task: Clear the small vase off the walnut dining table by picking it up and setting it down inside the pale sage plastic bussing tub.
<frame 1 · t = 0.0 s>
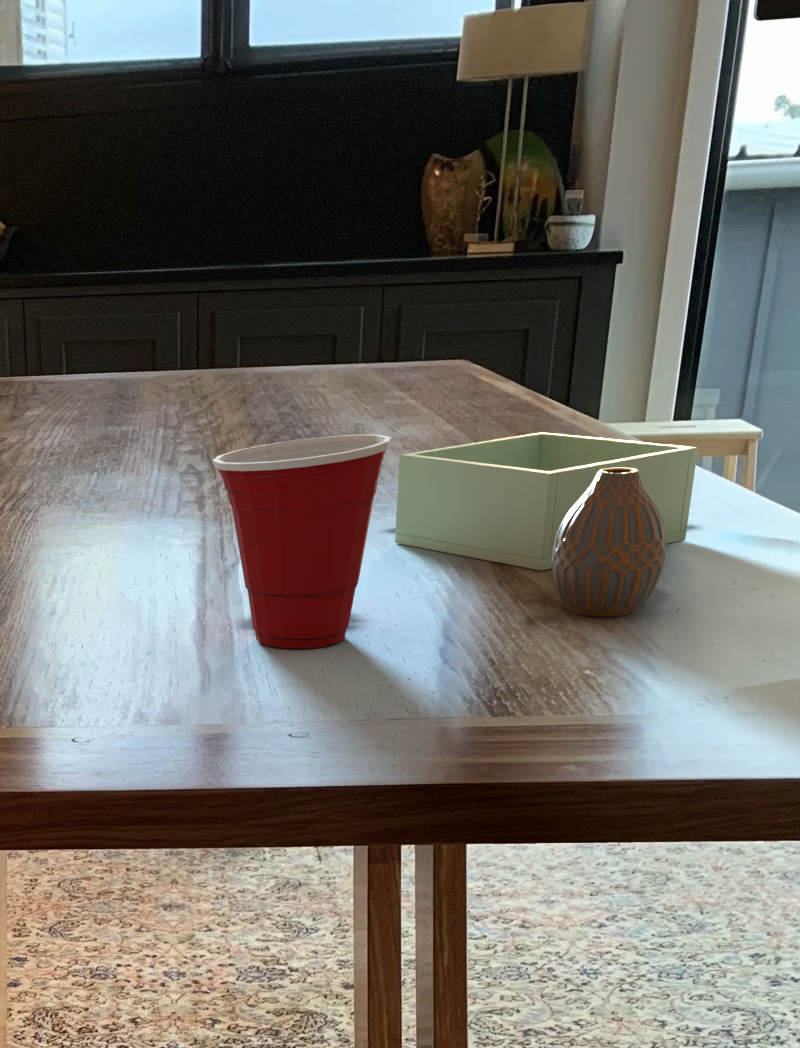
vase: (601, 613, 100), on the table
plastic cup: (296, 641, 98), on the table
tub: (536, 541, 121), on the table
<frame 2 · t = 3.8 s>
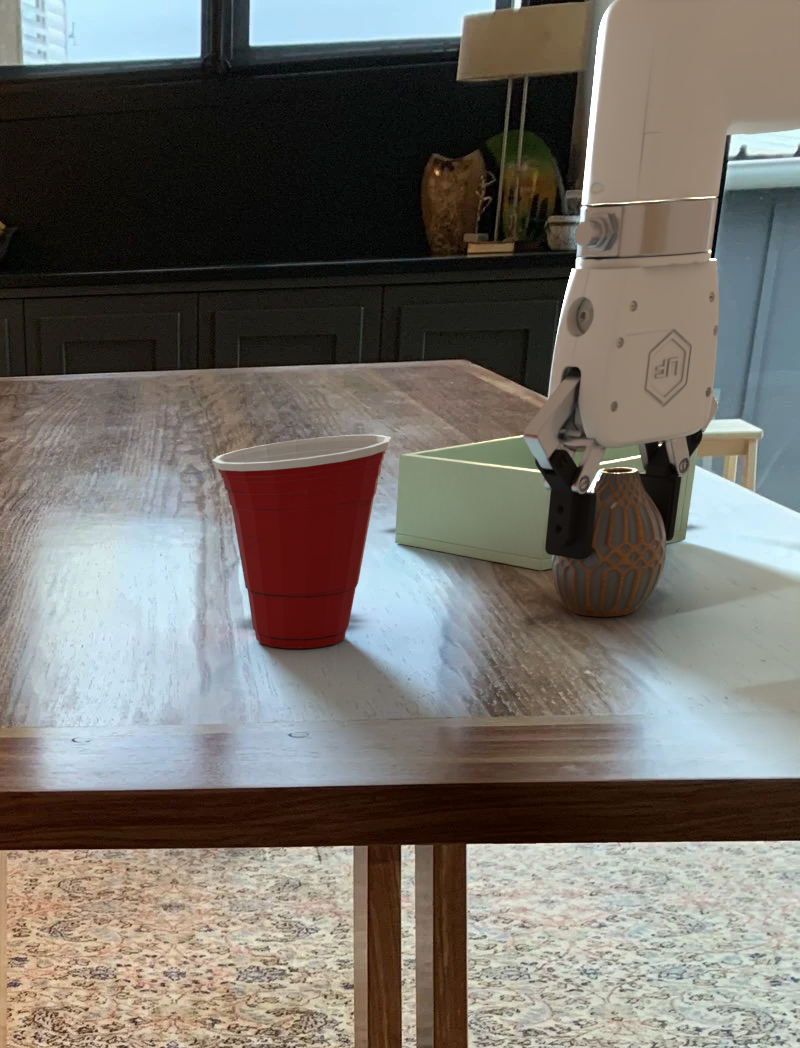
hand: (609, 545, 98), 4 cm above the table, tool pointing down, fingers closed on vase, 6 cm apart
vase: (601, 613, 100), on the table, touching gripper
everything else where it was.
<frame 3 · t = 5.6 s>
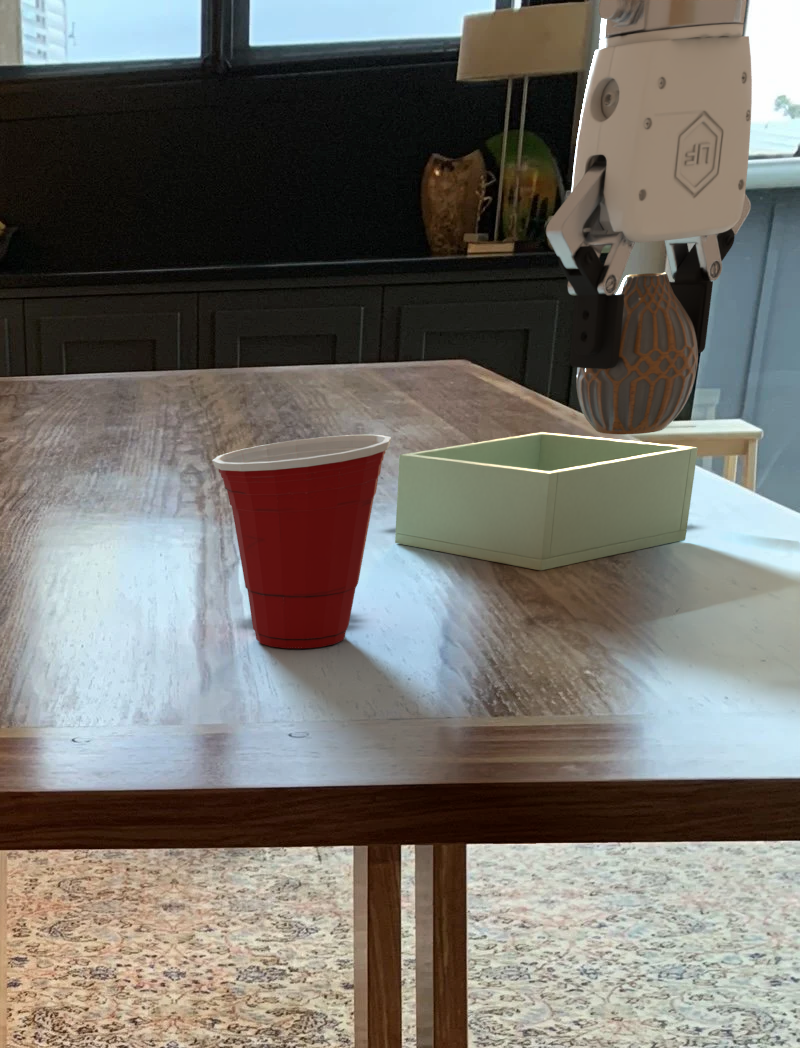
hand: (637, 357, 93), 15 cm above the table, tool pointing down, fingers closed on vase, 6 cm apart
vase: (629, 433, 95), point 11 cm above the table, touching gripper
everything else where it was.
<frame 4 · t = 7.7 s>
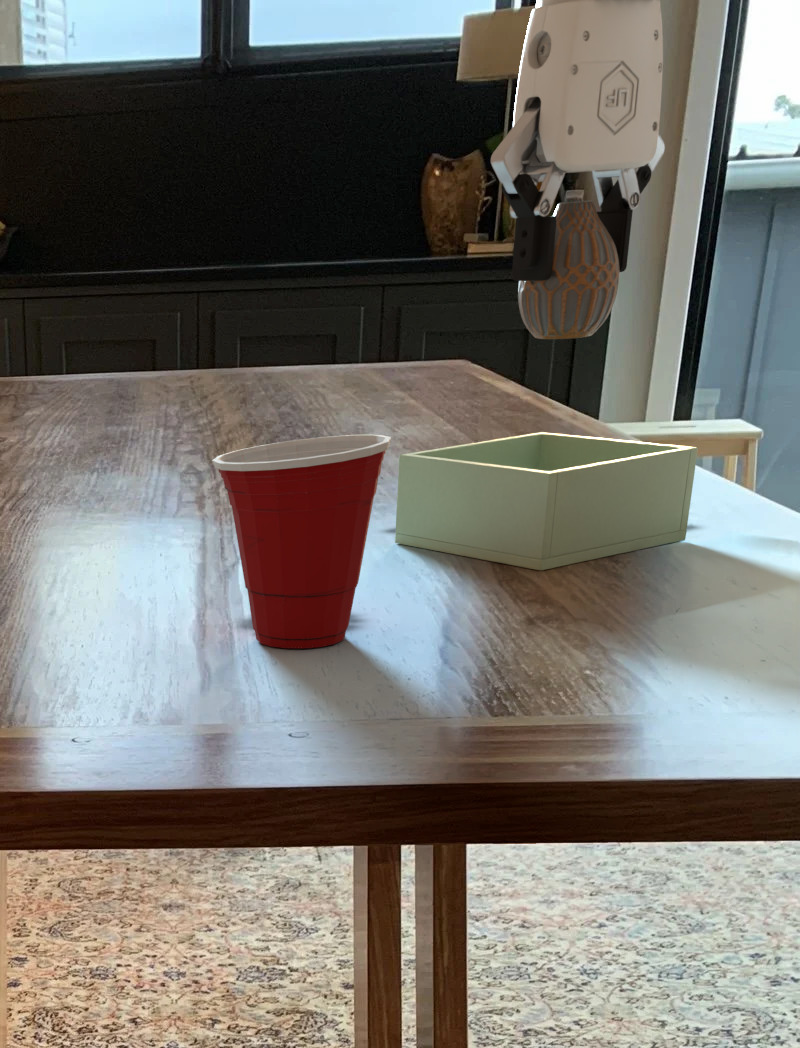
hand: (569, 274, 110), 19 cm above the table, tool pointing down, fingers closed on vase, 6 cm apart
vase: (563, 339, 112), point 15 cm above the table, touching gripper
everything else where it was.
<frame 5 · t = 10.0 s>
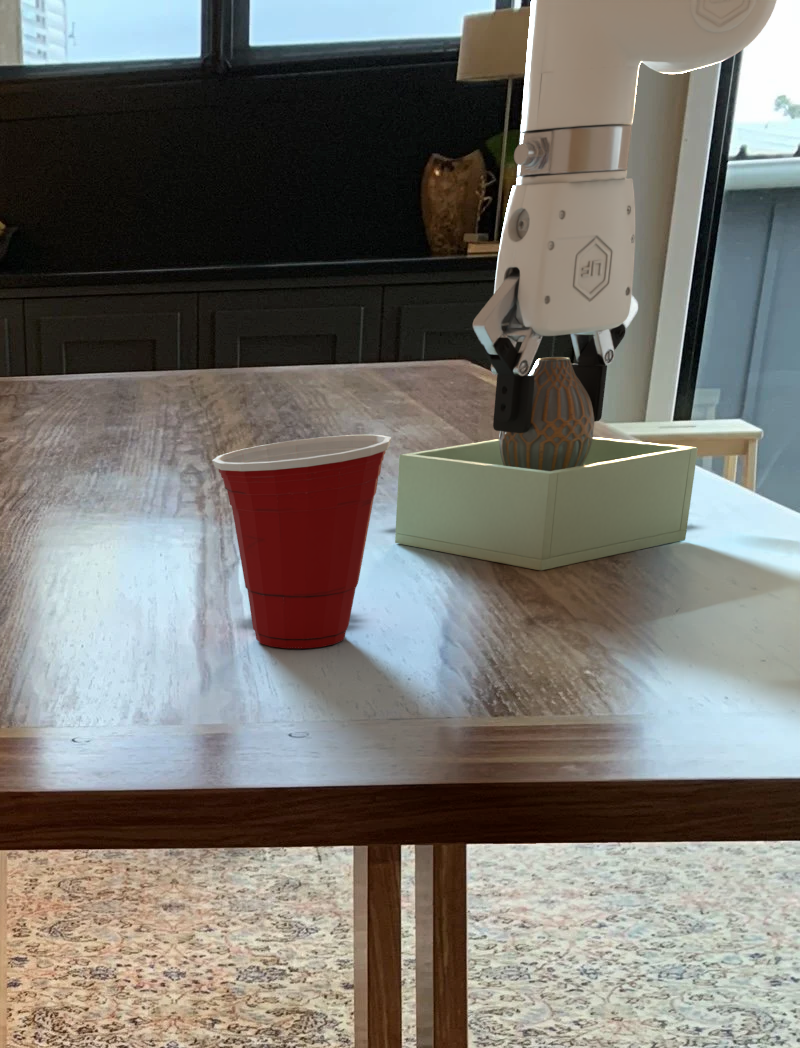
hand: (547, 423, 117), 9 cm above the table, tool pointing down, fingers closed on vase, 6 cm apart
vase: (541, 483, 119), point 4 cm above the table, touching gripper
everything else where it was.
when the fingers open (5 cm above the table, at t = 11.6 s): vase stays where it is, resting on tub.
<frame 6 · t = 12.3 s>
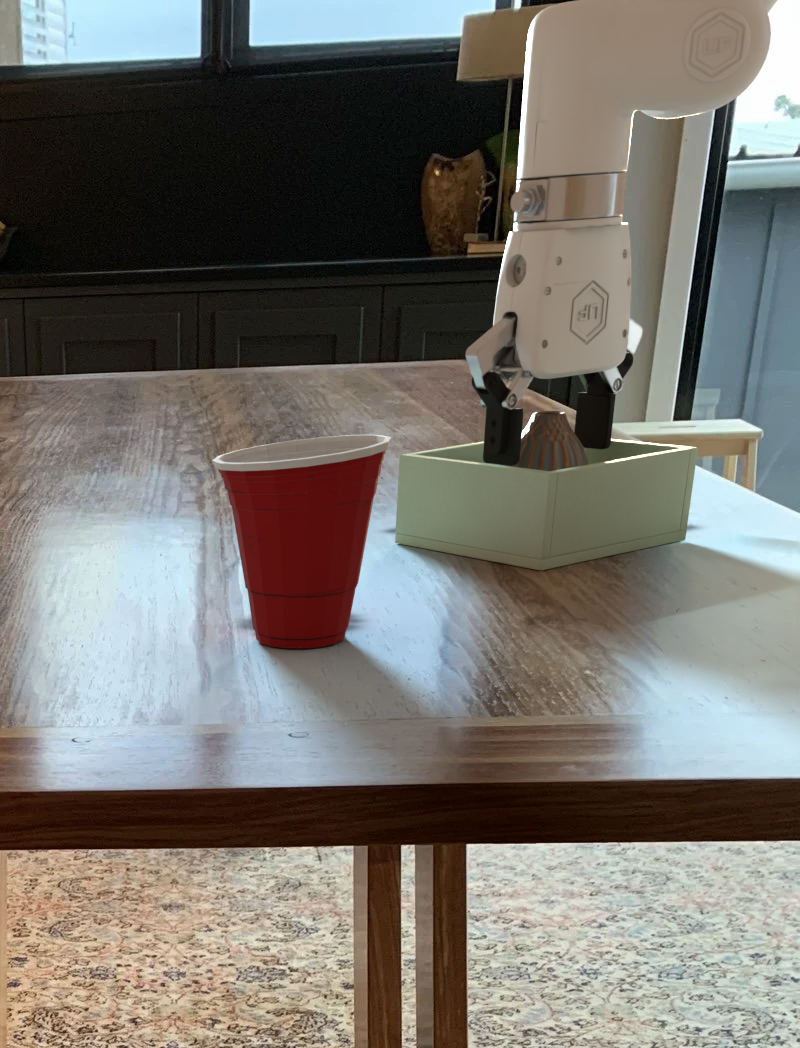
hand: (546, 455, 118), 6 cm above the table, tool pointing down, fingers open, 9 cm apart
vase: (537, 533, 120), point 1 cm above the table, touching tub
everything else where it was.
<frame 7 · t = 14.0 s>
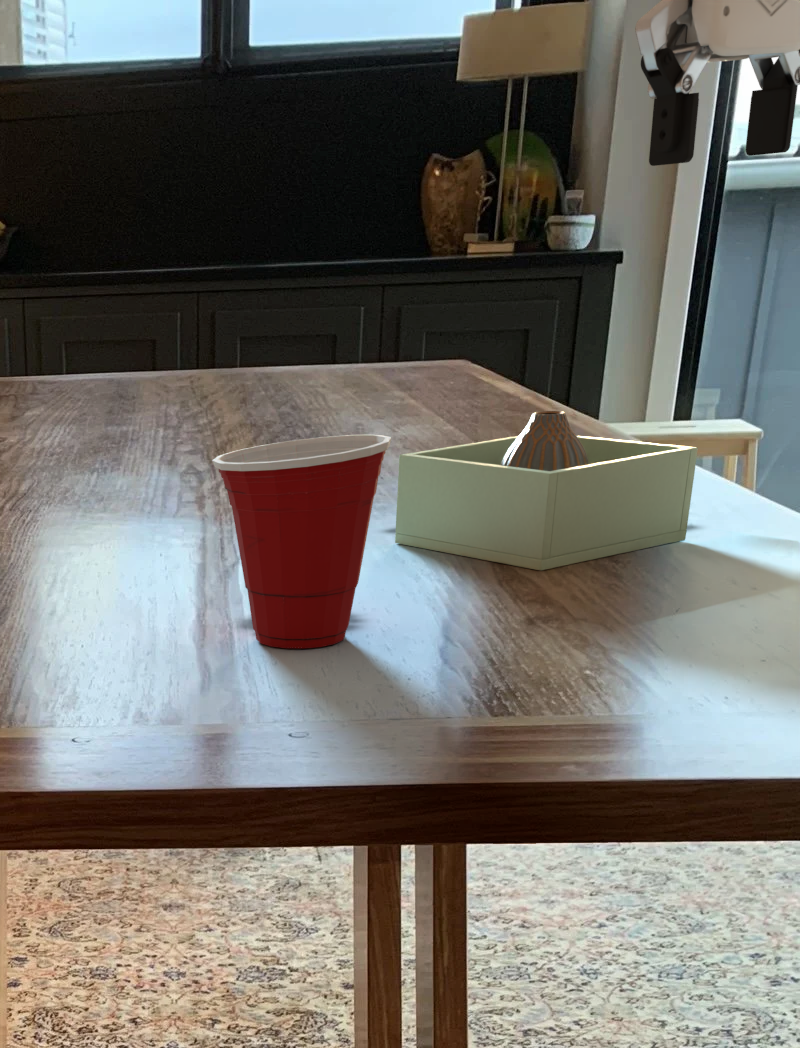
hand: (719, 158, 105), 26 cm above the table, tool pointing down, fingers open, 9 cm apart
nothing on the table moved.
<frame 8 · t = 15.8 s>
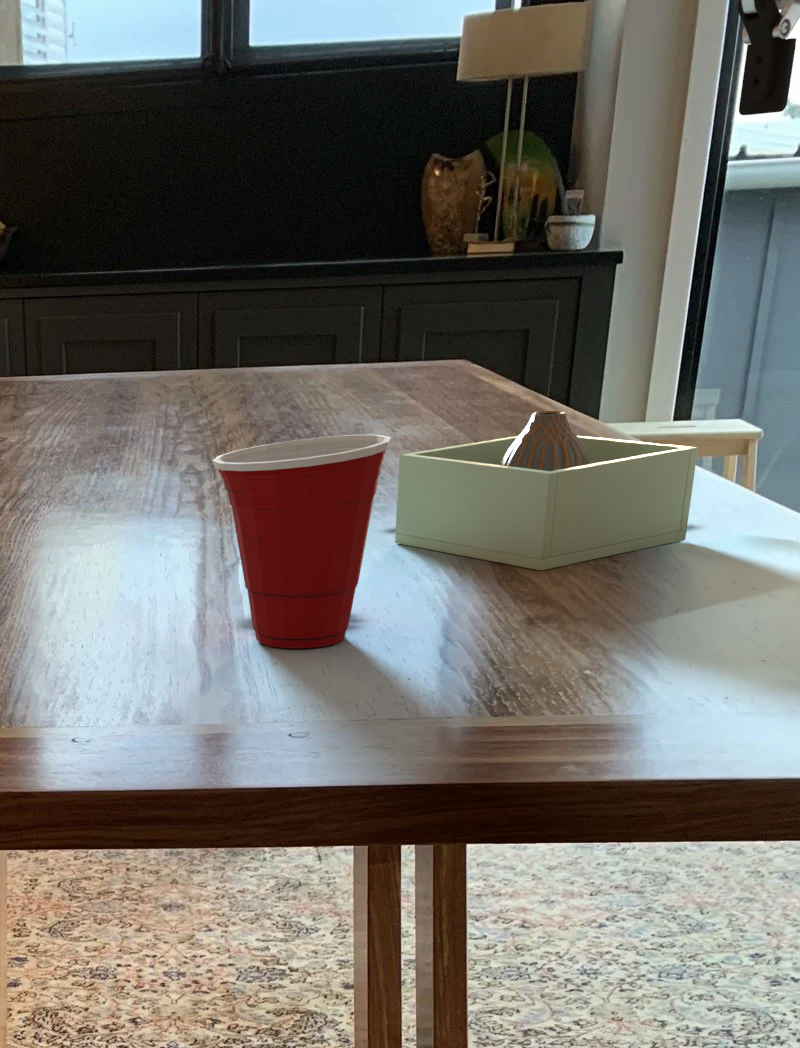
nothing on the table moved.
at the end: vase inside the target area in the tub (0.0 cm from its centre), point 0.6 cm above the tub's base; vase tilted 0°; the gripper is holding nothing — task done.
